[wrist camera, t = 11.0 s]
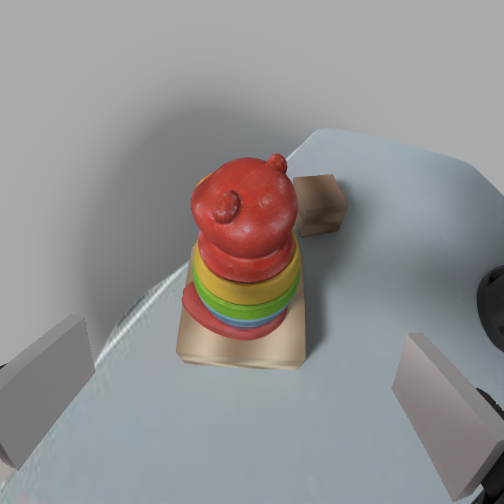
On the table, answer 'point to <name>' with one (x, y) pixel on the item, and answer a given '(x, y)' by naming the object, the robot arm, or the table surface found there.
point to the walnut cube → (319, 204)
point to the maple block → (251, 351)
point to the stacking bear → (244, 249)
